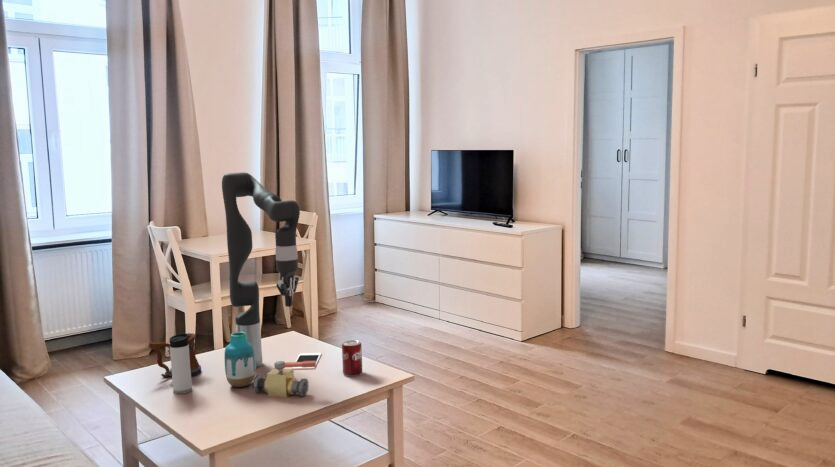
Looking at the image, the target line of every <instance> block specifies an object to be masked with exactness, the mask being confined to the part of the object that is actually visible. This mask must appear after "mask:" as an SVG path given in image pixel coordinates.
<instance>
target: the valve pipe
mask: <svg viewBox="0 0 835 467" xmlns="http://www.w3.org/2000/svg"><path fill="white" fill-rule="evenodd" d="M294 372H295V371H294V370H293V369H292V368H283V369H275V367H274V368H273V369H271V370H270V371H269V372H267V373H266V377H264V375H263V374H257V375H255V378H254V380H253V382H252V383H253V384H252V386H253V391H254V392H255V393H261V392H262V391H264V392H265V393H267V396H268V397H275V398H284V399H287V398H288V397H289V396H294V395H296V394H298V396H300V397H303V398H304V397H305V396H307V395H308V391H309V381H308V378H305V377H304V378H301V379H300V380H298V379H297V378H296V377H295V376H294Z"/></svg>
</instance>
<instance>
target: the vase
mask: <svg viewBox="0 0 835 467" xmlns="http://www.w3.org/2000/svg"><path fill="white" fill-rule="evenodd" d="M223 358H224V369H225V370H224V371H225V376H226V380H227V383H228V384H229V385H231V386H232V387H235V388H242V387H246V386H249V385H251V384H252V383H254V379H255V377H256V367H255V353H254V348H253V345H252V344H251V343H249V342H247V337H246V333H245V332H233V333H231V334H230V343H229V344H228V345H226V346H225V349H224V357H223Z"/></svg>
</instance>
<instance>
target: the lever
mask: <svg viewBox="0 0 835 467" xmlns="http://www.w3.org/2000/svg"><path fill="white" fill-rule="evenodd" d="M315 366H316V367H317V365H316V361H303V362H295V361H291V362H285V361H282V360H281V361H275V362H274V368H275V369H286V368H292V367H302V368H304V367H315ZM316 367H315V368H316Z"/></svg>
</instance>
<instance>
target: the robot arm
mask: <svg viewBox="0 0 835 467" xmlns="http://www.w3.org/2000/svg"><path fill="white" fill-rule="evenodd" d="M221 192H222V198H223V204H224V211H225V223H226V242H227V253H228V254H227V255H228V256H227V257H228V263H229V264H228V267H229V269H228V270H229V300H230V301H229V302H230V304H231V306H232V307H234V308H235V307H236V308H237V307H240V308H241V307H248V306H249V308H248V309H246V310H245V311H243V312H241V313H240V314H237V315H236V316H235V331H236V332H245V333H246V337H247V342H249V343H251V344H252V345H253V348H254V353H255V367H256V368H259V367H261V366H263V351H262V336H261V335H262V333H261V332H262V331H261V329H262V328H261V317H260V316H261V315H260V288H259V284H258V282H257V281H243V282H242V281H241V282H239V277H240V274H241V271H242V269H243V267H244V265H245V263H246V261H247V260H248V258H249V256H251V253H252V249H253V233H252V230H251V227H250V225H249V223H248V222H247V221H246V219H245V218H244V217H243V215H242V214H241V212H240V210H239V208H238V204H237V202H238V201H237V198H244V197H251V198H253V199H252V200H253V203H254V204H255V205H256V206H257V207H258V208H259V209H260V210H262V211H264V212H265V213H266V214H267V216H268V217H269V218H270V220H271V221H272V222H276V223H281V222H282V223H283V222H284V225H283V226H282V227H280V228H277V229H276V230H275V232H274V235H275V237H274V239H275V270H276V272H277V273H279V280H280V281H279V282H278V283H276V288H277V289H278V291H279V294H280V296H284V304H285V307H287V308H288V307H290V308H291V307H293V305H294V304H293V301H294V300H293V295H294V293H296V291H297V288H298V284H299V281H300V280H299V279H300V278H299V276H296V272H297V271H299V260H298V258H299V257H298V248H297V247H298V246H297V228H298V224H299V219H300V214H301V211H300V210H301V209H300V205H299V204H298V202H296V201H295V200H290V199H289V200H282V198H281V197H280V196H278V195H277V194H276V193H274V192H272V191H270V190H268V188H265V187H264V186H263V185H262V184H261V183H260V182H259V181H258V180H257V179H256V178H255V177H254V176H253V175H251V174H250V173H248V172H231V173H230V172H229V173H224V174H223V176H222V178H221ZM256 368H255V369H256Z"/></svg>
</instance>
